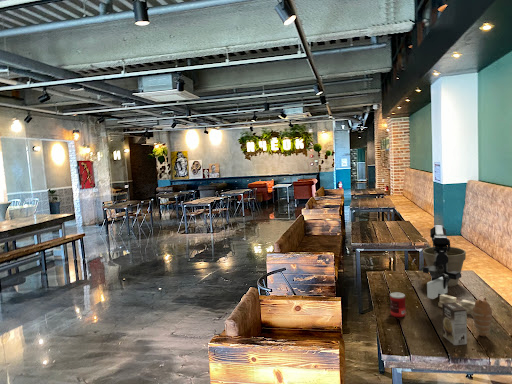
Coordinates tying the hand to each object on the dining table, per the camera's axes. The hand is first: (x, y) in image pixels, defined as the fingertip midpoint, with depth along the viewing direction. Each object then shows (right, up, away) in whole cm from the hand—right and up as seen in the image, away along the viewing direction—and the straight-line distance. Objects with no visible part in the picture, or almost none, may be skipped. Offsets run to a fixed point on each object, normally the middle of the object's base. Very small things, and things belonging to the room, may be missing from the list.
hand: (441, 288), depth 207 cm
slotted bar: (-3, -3, -2) cm, 5 cm away
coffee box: (-9, -16, -31) cm, 36 cm away
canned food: (-23, -15, +1) cm, 27 cm away
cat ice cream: (+5, -15, -28) cm, 33 cm away
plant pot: (+23, -8, +44) cm, 50 cm away
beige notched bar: (+10, -12, +1) cm, 16 cm away
